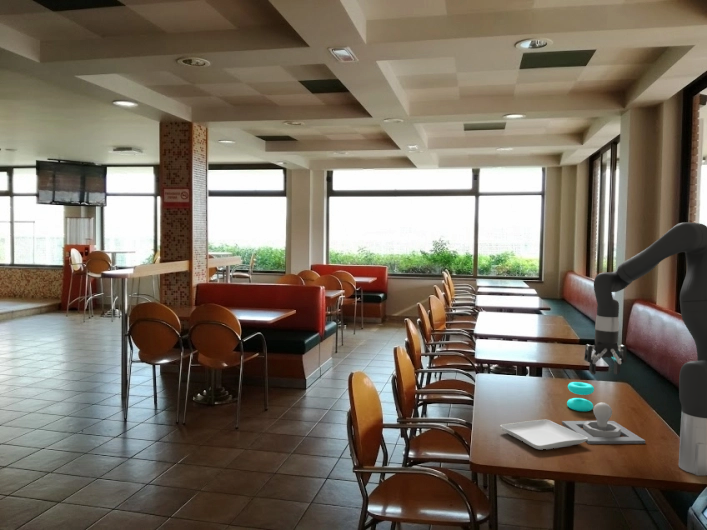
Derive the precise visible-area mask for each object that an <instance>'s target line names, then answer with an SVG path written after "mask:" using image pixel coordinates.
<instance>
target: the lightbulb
mask: <svg viewBox="0 0 707 530" xmlns="http://www.w3.org/2000/svg"><path fill="white" fill-rule="evenodd" d="M592 410H593V411H592V412H593V415H594V417H595V419H596V421H597V425H598V430H603V431H607V430H606V426H607V422H608V421H610V418H611V417H612V415H613V409H612V407H611V406H610V405H609V404H608V403H607V402H601V401H600V402H598V403H596V404H595V405H593V409H592Z"/></svg>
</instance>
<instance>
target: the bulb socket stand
mask: <svg viewBox="0 0 707 530" xmlns="http://www.w3.org/2000/svg"><path fill="white" fill-rule="evenodd" d="M561 424H562V426H563V427H566V428H568V429H570V430H572V431H575V432H577V433H579V434H581V435H583V436H585V437H588V440H586V441H585V442H586V443H587V444H588V445H600V444H601V445H605V444H607V445H611V444H612V445H614V444H619V445H620V444H621V445H622V444H624V445H625V444H627V445H628V444H631V445H632V444H635V445H636V444H646V440H645V439H644V438H642V437H640V436H639V435H637V434H635V433H634V432H632V431H631V430H629V429H627V428H626V427H624V426H623V425H621V424H620V423H618V422H617V421H615V420H608V422H607V426H606V431H603V430H598V425H597V420H561ZM585 442H584V443H585Z"/></svg>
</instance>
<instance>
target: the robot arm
mask: <svg viewBox="0 0 707 530" xmlns="http://www.w3.org/2000/svg"><path fill="white" fill-rule="evenodd" d="M680 253H685V258H686V273H685V277H684V280H683V282H682V286H681V289H680V292H679V305H680V307H679V308H680V315H681V319H682V322H683V323H684V325H685V327H686V329H687V331H688V332H689V333H690V335H691V336H692V339H693V341H694V344H695V347H696V358H697V359H696V360H692V361H686V362H685V363H684V364H683V365H682V366H681V368H680V371H679V378H678V384H679V385H678V392H679V393H678V395H679V396H678V397H679V402H680V404H681V413H680V414H681V415H680V416H681V418H680V432H679V448H678V449H679V451H678V453H679V454H678V467H679V469H681V470H683V471H684V472H687V473H690V474H693V475H695V476H707V225H705V224H703V223H700V222H698V223H697V222H691V221H689V222H688V221H687V222H685V221H684V222H679V223H677V224H676V225H674V226H672V227H671V228H670V229H668V231H666V232H665V233H664V234H663V235H662V236H661V237H659V238H658V239H657V240H656V241H654V242H653V243H652V244H650V245H649V246H647V247H646V248H645V249H643V250H642V251H640V252H639V253H636V254H635V255H634V256H632V257H630V258H628V259H626V260H625V261H623V262H622V263H620V264H619V265H618V266H617V269H616V270H614V271H609V272H600V273H598V274H597V275H596V276H595V278H594V279H593V290H594V295H595V300H596V303H597V305H596V318H595V326H594V327H595V329H594V331H595V332H594V344H593V345H591V344H588V343H587V344H585V348H584V349H585V351H584V358H583V360H584V361H585V362H587V363H589V373H590V374H592V375H596V372H597V371H596V370H597V362H598V361H599V360H601V358H603V359H606V358H609V359H612V360H613V362H614V363H613V374H614V375H616V376H617V375H618V376H619V374H620V373H621V364H623V363H625V364H626V363H627V358H628V357H627V346H626V345H623V344H620V345H618V343H619V333H620V332H619V331H620V329H619V327H620V321H619V320H620V319H619V314H620V304H619V301H618V300H616V299H614V298H613V293H617V292H621V291H622V290H624V289H625V288H627V287H628V286H630V284H632V283H633V281H636V280H639V279H640V278H642V277H644V276H645V275H647V274H649V273H650V272H652V271H653V270H654V269H655V268H657V266H658V264H660V263H661V262H662V261H664V260H665V259H667V258H669V257H672V256H674V255H676V254H680ZM593 351H594V352H593ZM617 351H618V352H619V353H618V354H619V356H618V354H617V353H616V352H617Z"/></svg>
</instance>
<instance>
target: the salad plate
mask: <svg viewBox="0 0 707 530" xmlns="http://www.w3.org/2000/svg"><path fill="white" fill-rule="evenodd" d="M499 428H500V429H501V430H502V431H504V432H505V433H507V434H508V435H510V436H511V437H513V438H515V439H517V440H519V441H521V442H522V441H523V443H524V444H526V445H528V446H530V447H532V448H534V449H536V450H538V451H539V450H541V451H542V450H543V449H546V450H551V449H552V450H554V449H559V448H565V447H572V446H575V445H579V444H583V443H585V441H586V440H588V437H585V436H583V435H581V434H579V433H577V432H575V431H572V430H570V429H568V428H567V427H566V426H564V425H561V424H558V423H556V422H554V421H552V420H550V419H545V418H544V419H536V420H535V419H534V420H526V421H525V420H524V421H518V422H511V423H504V424H500V425H499ZM553 448H554V449H553Z"/></svg>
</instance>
